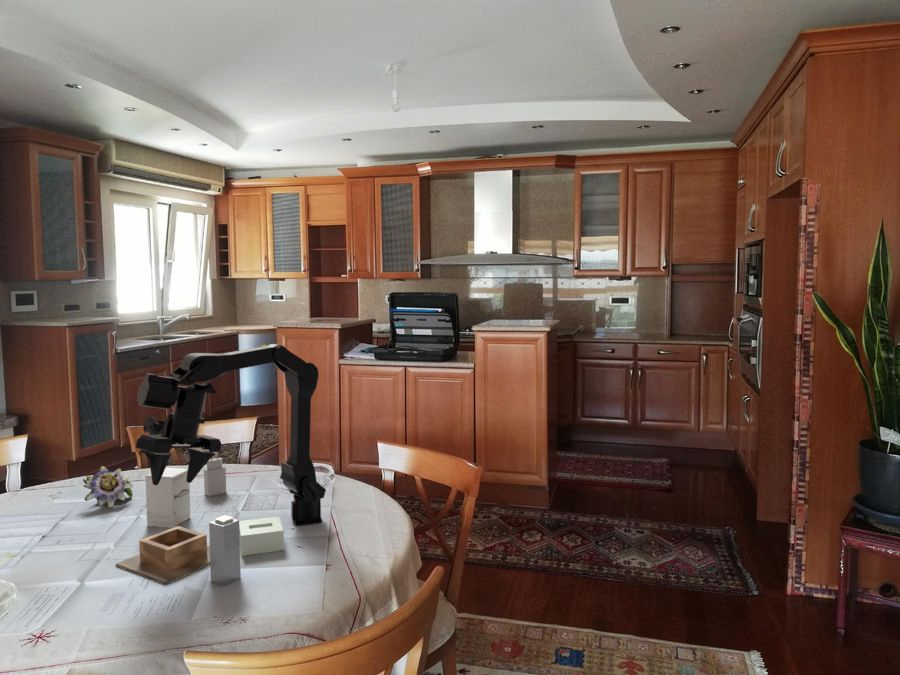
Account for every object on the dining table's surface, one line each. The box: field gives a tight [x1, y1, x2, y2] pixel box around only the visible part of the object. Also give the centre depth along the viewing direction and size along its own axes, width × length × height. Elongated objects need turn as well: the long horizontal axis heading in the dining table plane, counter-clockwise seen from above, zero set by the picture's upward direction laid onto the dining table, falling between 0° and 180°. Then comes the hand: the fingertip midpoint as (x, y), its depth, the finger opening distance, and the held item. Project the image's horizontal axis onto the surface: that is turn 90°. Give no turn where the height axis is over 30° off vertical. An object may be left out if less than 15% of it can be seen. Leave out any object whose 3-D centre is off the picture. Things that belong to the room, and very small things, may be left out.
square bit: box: [208, 514, 241, 587], centre depth 131 cm, size 4×4×13 cm
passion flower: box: [82, 465, 134, 509], centre depth 175 cm, size 11×11×12 cm
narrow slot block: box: [239, 516, 285, 557], centre depth 148 cm, size 9×9×4 cm
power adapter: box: [203, 452, 227, 497], centre depth 183 cm, size 3×5×12 cm, turn 135°
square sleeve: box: [115, 525, 210, 585], centre depth 140 cm, size 16×16×5 cm
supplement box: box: [145, 467, 191, 529], centre depth 161 cm, size 7×7×13 cm
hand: (172, 483), depth 141 cm, fingers open, 9 cm apart
